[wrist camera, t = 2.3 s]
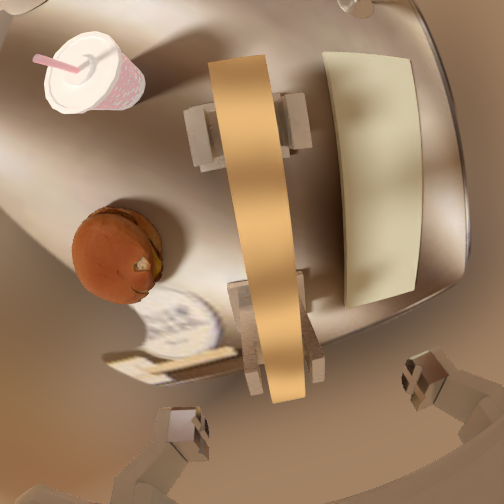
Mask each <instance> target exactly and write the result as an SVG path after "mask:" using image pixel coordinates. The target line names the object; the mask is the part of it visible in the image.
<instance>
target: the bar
mask: <svg viewBox="0 0 504 504" xmlns="http://www.w3.org/2000/svg"><path fill="white" fill-rule="evenodd" d="M208 68H209V74H210V79H211V85H212V91H213V96H214V102H215V108H216V113H217V119H218V124H219V130H220V135H221V141H222V146H223V152H224V157H225V163H226V168H227V173H228V179H229V184H230V190H231V195H232V200H233V205H234V211H235V216H236V221H237V227H238V232H239V237H240V242H241V247H242V253H243V258H244V263H245V268H246V273H247V278H248V283H249V289H250V294H251V299H252V304H253V309H254V314H255V319H256V324H257V329H258V334H259V339H260V344H261V349H262V354H263V359H264V364H265V368H266V373H267V378H268V383H269V388H270V392H271V398H272V402H273V403H277V402H283V401H288V400H293V399H298V398H302V397H305V381H304V364H303V363H304V362H303V347H302V333H301V320H300V308H299V297H298V286H297V275H296V265H295V256H294V246H293V237H292V229H291V220H290V212H289V204H288V196H287V189H286V181H285V174H284V167H283V160H282V153H281V146H280V140H279V133H278V127H277V121H276V115H275V109H274V103H273V97H272V91H271V86H270V80H269V75H268V70H267V64H266V59H265V55H256V56H248V57H240V58H233V59H226V60H220V61H215V62H209V63H208Z"/></svg>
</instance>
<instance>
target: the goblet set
mask: <svg viewBox="0 0 504 504" xmlns="http://www.w3.org/2000/svg"><path fill="white" fill-rule="evenodd" d="M337 2H338V4H339V6H340V7H341V8H342V9H343V10H344V11H345V12H346V13H348V14H350V15H352V16H354V17H357V18H368V17H370V16H371V15H372V14H373V11H374V7H373V4H372V2H371V0H337Z"/></svg>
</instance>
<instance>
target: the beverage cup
mask: <svg viewBox="0 0 504 504" xmlns="http://www.w3.org/2000/svg"><path fill="white" fill-rule="evenodd" d="M33 62H35V63H39V64H43V65H47V66H48V68H47V72H46V77H45V82H44V87H45V95H46V99H47V100H48V102H49V103H50V105H51V106H52V108H53V109H55V110H57V111H59V112H61V113H63V114H74V113H84V112H86V111H88V110H124V109H127V108H130V107H132V106H133V105H134V104H135V103H136V102H138V101H139V99H140V98H141V96H142V94H143V93H144V88H145V79H144V75H143V74H142V72H141V71H140V70H139V69H138V68H137V67H136V66H135V65H134V64H133V63H132V62H131V61H130V60H129V59H128V58H127V57H126V56H125V55H124V54H123V53H122V52H121V50H120V48H119V46H118V45H117V44H116V43H115V41H114V40H113V39H112V38H111V37H110V36H109V35H106V34H103V33H100V32H97V31H94V32H87V33H81V34H80V35H78V36H76V37H74V38H72V39H70V40H69V41H67V42H66V43H65V44H64V45H63V46H62V47H61V48H60V49H59V50H58V51H57V52H56V54H55V55H54V57H53V59H52V58H49V57H46V56H42V55H39V54H36V55H35V56H34V58H33Z"/></svg>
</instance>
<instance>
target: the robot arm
mask: <svg viewBox="0 0 504 504" xmlns="http://www.w3.org/2000/svg"><path fill="white" fill-rule="evenodd" d="M45 1H46V0H0V10H3V9H4V10H5V11H6V12H8V13H9V14H12V15H19V14H23V13H25V12H28V11H30V10H32V9H34V8H35V7H37V6H39V5H40V4H42V3H43V2H45ZM405 366H406V369H405V370H404V371H403V373H402V377H401V379H402V385H403V388H404V390H405V392H406V393H408V394H410V395H411V402H412V404H413V406H414V407H415V409H416V411H419V410H422V409H424V408H426V407H428V406H431V405H433V404H434V406H436V407H437V408H439V409H441V410H442V411H444V412H446V413H447V414H449V415H451V416H452V417H454V418H456V419H458V420H459V421H461V422H463V423H464V425H463V426H462V428H461V429H460V430H459V432H458V436H459V438H460V439H461V441H462V443H463V445H461V446H459V447H458V448H456V449H455V450H453V451H451V452H450V453H448V454H446V455H445V456H443V457H441V458H439V459H437V460H436V461H434V462H432V463H430V464H428V465H426V466H424V467H422V468H420V469H418V470H416V471H414V472H412V473H410V474H408V475H405V476H403V477H401V478H399V479H396V480H394V481H392V482H389V483H387V484H384V485H382V486H379V487H376V488H374V489H371V490H368V491H365V492H362V493H360V494H356V495H353V496H350V497H346V498H343V499H340V500H336V501H332V502H328V503H325V504H504V387H503V386H502V385H501V384H498V383H495V382H493V381H490V380H487V379H484V378H482V377H479V376H477V375H474V374H472V373H469V372H466V371H464V370H458V369H457V368H456V367H455V366H454V364H453V363H452V362H451V360H450V359H449V358H448V357H447V355H446V354H445V353H444V352H443V350H442V349H441V348H440V347H435V348H433V349H431V350H428V351H425V352H423V353H420V354H418V355H416V356H413V357H411V358H408V359H407V360H406V363H405ZM208 439H209V427H208V423H207V420H206V418H205V417H204V416H202V415H201V409H200V408H199V406H194V407H166V408H165V407H164V408H160V409H159V411H158V414H157V420H156V426H155V432H154V438H153V442H149V443H148V444H147V445H146V446H145V447H144V448H143V449H142V451H140V453H139V454H138V455H137V456H136V457H135V458H134V459H133V460H132V461H131V462H130V463H129V464H128V465H127V466H126V467H125V468H124V469H123V470H122V471H121V472H120V473H119V474H118V475H117V476H116V477H115V479H114V484H113V490H112V496H111V501H110V504H178V503H177V502H176V501H175V500H173V499H171V498H170V497H168V496H167V493H168V492H169V490H170V489H171V488H172V486H173V485H174V483H175V482H176V480H177V479H178V478H179V476H180V475H181V473H182V472H183V470H184V469H185V467H186V466H187V464H188V462H205V461H209V446H208V445H207V443H206V441H207V440H208ZM14 504H100V503H97V502H93V501H89V500H86V499H82V498H79V497H76V496H73V495H70V494H67V493H64V492H61V491H58V490H56V489H53V488H50V487H48V486H45V485H41V484H40V485H36V486H34V487H32V488H31V489H29V490H28V491H26V492H25V493H24V494H22V495H21V496H20V497H18V498H17V500H16V501H15V503H14Z"/></svg>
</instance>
